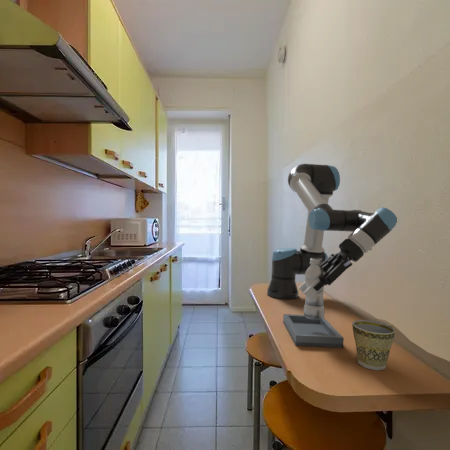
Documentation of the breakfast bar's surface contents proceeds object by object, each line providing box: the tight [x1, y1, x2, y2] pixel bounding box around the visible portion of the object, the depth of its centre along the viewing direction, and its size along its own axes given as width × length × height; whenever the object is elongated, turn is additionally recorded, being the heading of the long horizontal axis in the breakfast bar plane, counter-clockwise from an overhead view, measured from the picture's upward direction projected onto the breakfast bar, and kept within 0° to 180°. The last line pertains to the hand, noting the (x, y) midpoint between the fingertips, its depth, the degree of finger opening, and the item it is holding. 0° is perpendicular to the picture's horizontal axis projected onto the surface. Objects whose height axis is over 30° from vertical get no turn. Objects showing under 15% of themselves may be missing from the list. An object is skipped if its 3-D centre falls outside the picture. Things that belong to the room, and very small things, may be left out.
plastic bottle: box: [303, 258, 326, 320], centre depth 98 cm, size 6×7×20 cm
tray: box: [282, 313, 345, 349], centre depth 98 cm, size 20×14×3 cm
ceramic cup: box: [352, 319, 396, 371], centre depth 79 cm, size 13×10×10 cm
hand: (303, 293), depth 98 cm, fingers closed on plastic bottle, 6 cm apart
